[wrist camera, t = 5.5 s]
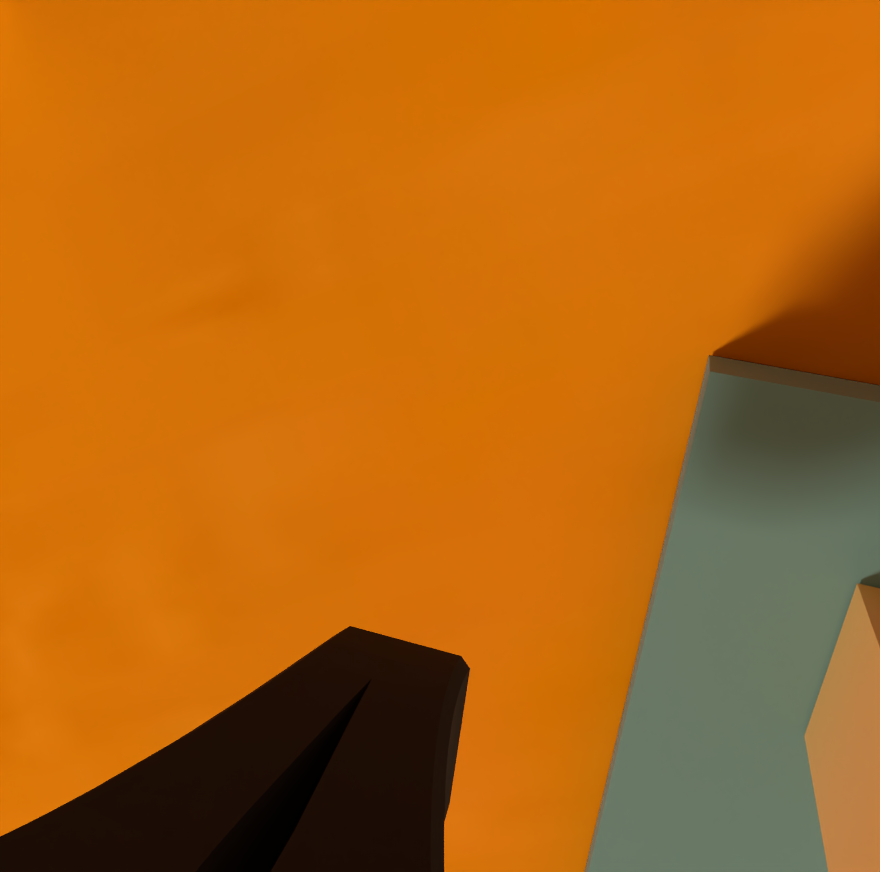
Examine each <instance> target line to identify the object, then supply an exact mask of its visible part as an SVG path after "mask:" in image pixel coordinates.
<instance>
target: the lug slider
mask: <svg viewBox="0 0 880 872" xmlns="http://www.w3.org/2000/svg"><path fill="white" fill-rule="evenodd" d="M804 737H805V742H806V748H807V754H808V759H809V765H810V771H811V777H812V782H813V788H814V794H815V799H816V805H817V811H818V816H819V822H820V828H821V833H822V839H823V845H824V850H825V856H826V862H827V867H828V872H880V588H876V587H872V586H867V585H863V584H858V583H857V585H856V588H855V591H854V594H853V597H852V599H851V602H850V605H849V608H848V611H847V614H846V617H845V620H844V623H843V625H842V628H841V631H840V634H839V637H838V640H837V643H836V646H835V649H834V652H833V654H832V657H831V660H830V663H829V666H828V669H827V672H826V675H825V678H824V680H823V683H822V686H821V689H820V692H819V695H818V698H817V701H816V704H815V707H814V709H813V712H812V715H811V718H810V721H809V724H808V727H807V730H806V733H805V736H804Z"/></svg>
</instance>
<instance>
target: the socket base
mask: <svg viewBox="0 0 880 872" xmlns="http://www.w3.org/2000/svg"><path fill="white" fill-rule="evenodd" d="M857 583H858V584H863V585H867V586H872V587H876V588H880V385H874V384H868V383H863V382H857V381H851V380H846V379H840V378H835V377H829V376H823V375H818V374H812V373H807V372H801V371H795V370H790V369H784V368H779V367H773V366H767V365H762V364H756V363H751V362H745V361H739V360H734V359H728V358H723V357H717V356H711V355H709V358H708V362H707V366H706V370H705V374H704V378H703V383H702V387H701V391H700V395H699V399H698V403H697V407H696V412H695V416H694V420H693V424H692V428H691V432H690V437H689V441H688V445H687V449H686V453H685V457H684V461H683V466H682V470H681V474H680V478H679V482H678V486H677V491H676V495H675V499H674V503H673V507H672V511H671V515H670V520H669V524H668V528H667V532H666V536H665V540H664V544H663V549H662V553H661V557H660V561H659V565H658V569H657V574H656V578H655V582H654V586H653V590H652V594H651V598H650V603H649V607H648V611H647V615H646V619H645V623H644V627H643V632H642V636H641V640H640V644H639V648H638V652H637V657H636V661H635V665H634V669H633V673H632V677H631V681H630V686H629V690H628V694H627V698H626V702H625V706H624V711H623V715H622V719H621V723H620V727H619V731H618V735H617V740H616V744H615V748H614V752H613V756H612V760H611V764H610V769H609V773H608V777H607V781H606V785H605V789H604V794H603V798H602V802H601V806H600V810H599V814H598V818H597V823H596V827H595V831H594V835H593V839H592V843H591V847H590V852H589V856H588V860H587V864H586V868H585V872H828V867H827V862H826V856H825V850H824V845H823V839H822V833H821V828H820V822H819V816H818V811H817V805H816V799H815V794H814V788H813V782H812V777H811V771H810V765H809V759H808V754H807V748H806V742H805V737H804V736H805V733H806V730H807V727H808V724H809V721H810V718H811V715H812V712H813V709H814V707H815V704H816V701H817V698H818V695H819V692H820V689H821V686H822V683H823V680H824V678H825V675H826V672H827V669H828V666H829V663H830V660H831V657H832V654H833V652H834V649H835V646H836V643H837V640H838V637H839V634H840V631H841V628H842V625H843V623H844V620H845V617H846V614H847V611H848V608H849V605H850V602H851V599H852V597H853V594H854V591H855V588H856V585H857Z"/></svg>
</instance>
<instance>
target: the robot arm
mask: <svg viewBox="0 0 880 872" xmlns="http://www.w3.org/2000/svg"><path fill="white" fill-rule="evenodd" d="M469 671H470V668H469V667H468V665H467V664H466V662H465V661H464V660H463V658H462V657H461V656H459V655H455V654H451V653H448V652H444V651H440V650H437V649H433V648H429V647H426V646H422V645H418V644H414V643H411V642H407V641H403V640H400V639H396V638H392V637H388V636H385V635H381V634H377V633H374V632H370V631H366V630H363V629H359V628H355V627H351V626H349V627H348V628H346V629H344V630H343V631H341V632H339V633H338V634H336V635H335V636H333V637H332V638H330V639H329V640H327V641H326V642H324V643H323V644H321V645H320V646H319V647H317V648H316V649H314V650H313V651H311V652H310V653H308V654H307V655H306V656H304V657H303V658H301V659H300V660H298V661H297V662H295V663H294V664H292V665H291V666H290V667H288V668H287V669H285V670H284V671H282V672H281V673H279V674H278V675H276V676H275V677H273V678H272V679H271V680H269V681H268V682H266V683H265V684H263V685H262V686H260V687H259V688H257V689H256V690H254V691H253V692H251V693H250V694H248V695H247V696H245V697H244V698H242V699H241V700H239V701H237V702H236V703H234V704H233V705H231V706H230V707H228V708H227V709H225V710H223V711H222V712H220V713H219V714H217V715H216V716H214V717H213V718H211V719H209V720H208V721H206V722H205V723H203V724H202V725H200V726H199V727H197V728H196V729H194V730H192V731H191V732H189V733H188V734H186V735H184V736H183V737H181V738H180V739H178V740H176V741H175V742H173V743H171V744H170V745H168V746H166V747H165V748H163V749H161V750H159V751H158V752H156V753H154V754H152V755H151V756H149V757H147V758H146V759H144V760H142V761H140V762H139V763H137V764H135V765H134V766H132V767H130V768H128V769H127V770H125V771H123V772H121V773H120V774H118V775H116V776H115V777H113V778H111V779H109V780H108V781H106V782H104V783H103V784H101V785H99V786H97V787H96V788H94V789H92V790H90V791H88V792H86V793H85V794H83V795H81V796H79V797H77V798H75V799H73V800H72V801H70V802H68V803H66V804H64V805H62V806H60V807H58V808H57V809H55V810H53V811H51V812H49V813H47V814H45V815H43V816H41V817H39V818H37V819H35V820H33V821H31V822H29V823H27V824H25V825H23V826H21V827H19V828H17V829H15V830H13V831H11V832H9V833H7V834H5V835H3V836H1V837H0V872H444V821H445V817H446V814H447V810H448V806H449V803H450V796H451V790H452V783H453V776H454V770H455V763H456V757H457V750H458V743H459V737H460V730H461V724H462V717H463V710H464V704H465V697H466V691H467V684H468V677H469Z"/></svg>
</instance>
